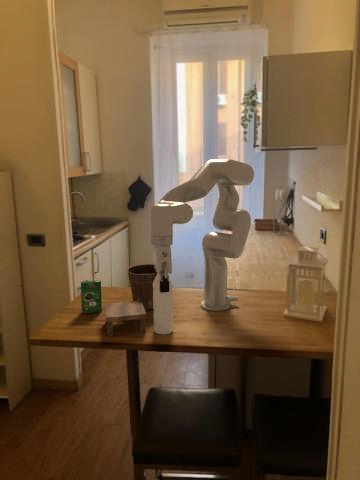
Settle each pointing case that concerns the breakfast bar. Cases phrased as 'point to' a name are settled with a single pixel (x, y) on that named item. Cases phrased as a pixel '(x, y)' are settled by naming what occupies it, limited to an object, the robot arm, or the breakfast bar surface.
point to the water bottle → (162, 307)
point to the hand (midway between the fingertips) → (161, 287)
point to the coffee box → (91, 296)
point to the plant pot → (142, 284)
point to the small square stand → (125, 313)
